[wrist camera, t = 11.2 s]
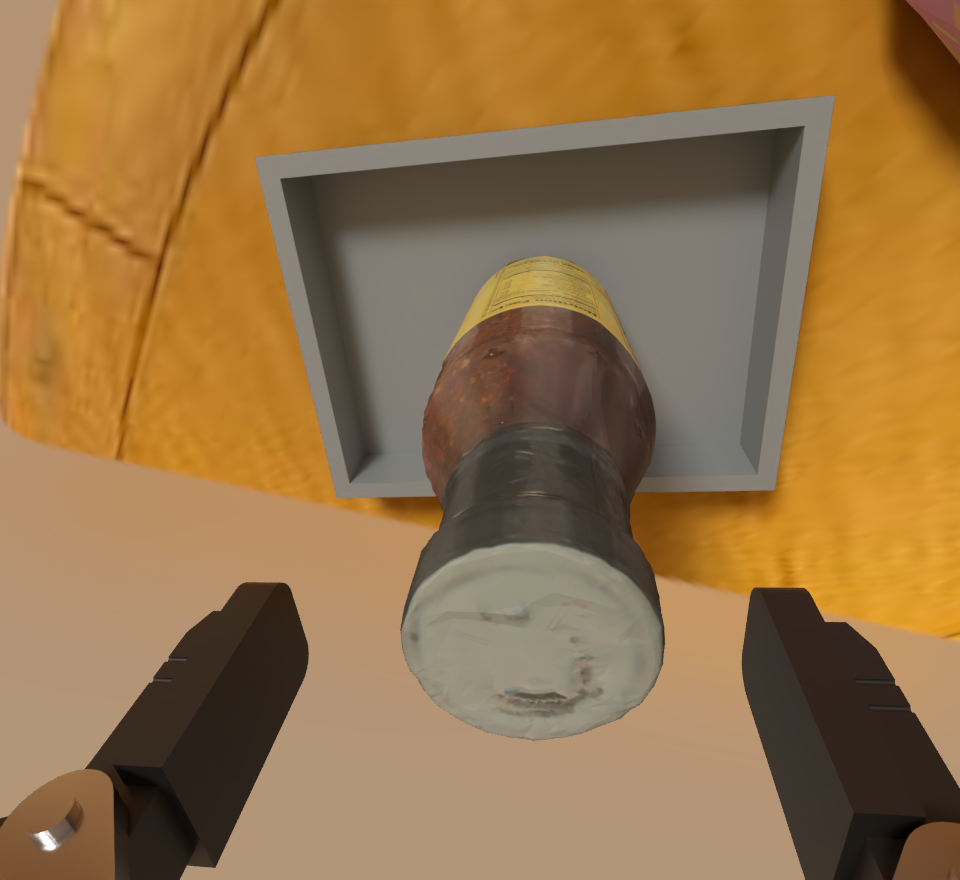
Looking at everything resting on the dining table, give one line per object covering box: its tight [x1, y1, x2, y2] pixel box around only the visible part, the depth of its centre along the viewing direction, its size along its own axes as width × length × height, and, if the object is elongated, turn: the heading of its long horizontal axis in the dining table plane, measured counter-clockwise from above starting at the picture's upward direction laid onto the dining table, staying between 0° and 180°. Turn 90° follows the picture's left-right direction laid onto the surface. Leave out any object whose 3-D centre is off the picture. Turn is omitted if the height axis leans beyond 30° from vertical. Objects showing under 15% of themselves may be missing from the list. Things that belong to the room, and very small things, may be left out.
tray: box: [254, 95, 835, 498], centre depth 26 cm, size 20×15×4 cm
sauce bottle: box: [401, 256, 665, 741], centre depth 18 cm, size 7×6×20 cm
